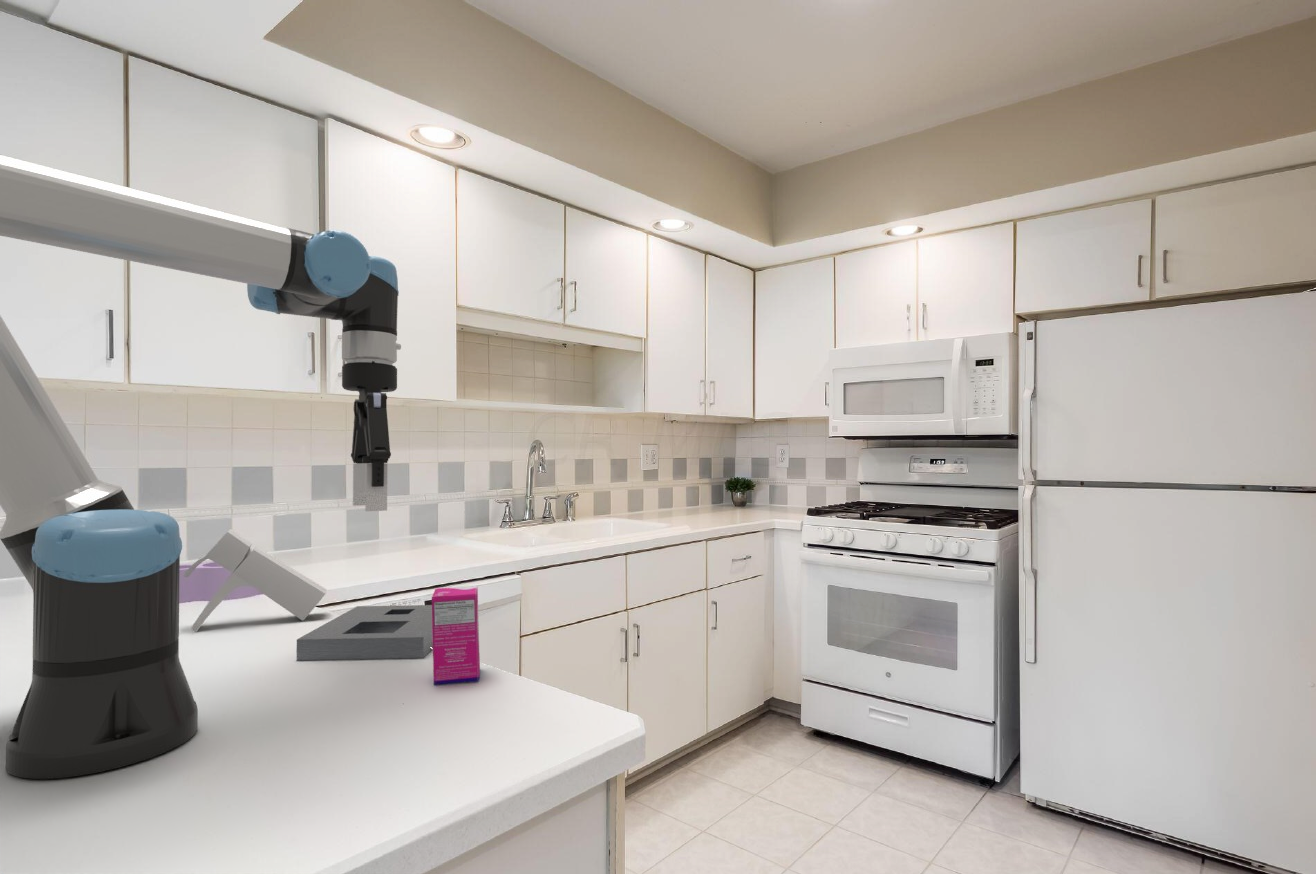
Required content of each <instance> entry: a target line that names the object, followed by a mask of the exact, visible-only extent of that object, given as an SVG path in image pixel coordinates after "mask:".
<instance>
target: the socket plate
mask: <svg viewBox="0 0 1316 874" xmlns="http://www.w3.org/2000/svg"><path fill="white" fill-rule="evenodd" d="M430 647H432V648H433V631H432V604H428V605H427V604H426V605H425V604H424V605H422V604H421V605H418V604H416V605H415V604H414V605H411V604H410V605H361V606H360V605H359V606H358V605H357V606H355V607H353V608H352V609H350V610H348V611H346V612H345V613H343V614H341V615H338V616H337V617H335V618H333V619H332V620H330V621H328V622H325V623H324V624H322V625H320V626H318V627H317V628H315V629H314V630H311V631H310V632H308V633H306V634H304V635H302V636H300V637H299V638H297V639H296V661H297V662H298V661H336V660H337V661H338V660H340V661H341V660H386V659H387V660H391V659H392V660H393V659H396V658H401V659H424V658H426V656H427V655H428V654H430V652H432V651H433V649H431V648H430Z"/></svg>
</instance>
